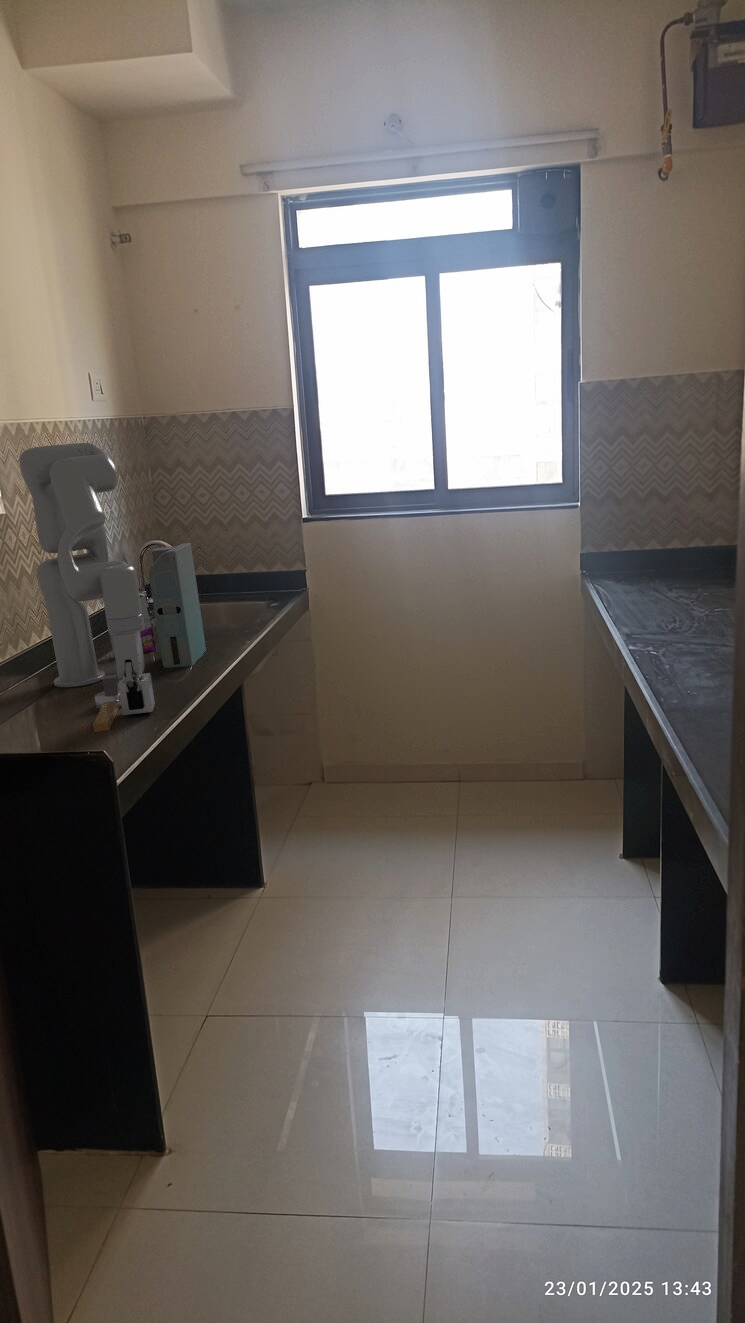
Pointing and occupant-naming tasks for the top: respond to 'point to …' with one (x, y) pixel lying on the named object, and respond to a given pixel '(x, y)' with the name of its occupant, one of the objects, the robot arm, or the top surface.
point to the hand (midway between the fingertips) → (138, 703)
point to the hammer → (107, 703)
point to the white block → (146, 692)
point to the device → (176, 606)
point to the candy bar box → (147, 632)
